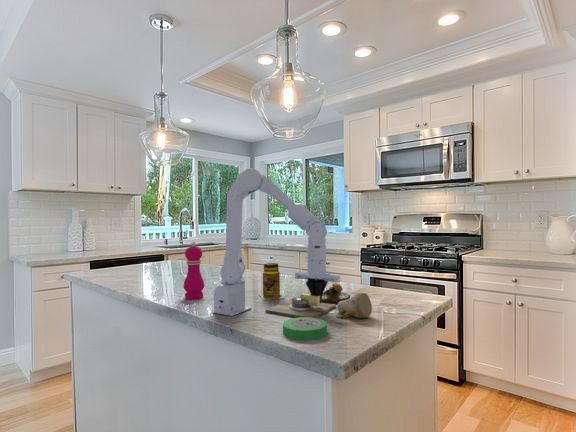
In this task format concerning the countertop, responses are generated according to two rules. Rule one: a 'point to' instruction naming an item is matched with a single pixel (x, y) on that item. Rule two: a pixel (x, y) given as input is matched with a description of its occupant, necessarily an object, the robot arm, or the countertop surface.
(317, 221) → the robot arm
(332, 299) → the plate of food
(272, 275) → the condiment
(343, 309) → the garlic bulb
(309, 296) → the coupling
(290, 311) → the post base
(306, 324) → the tape roll
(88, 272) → the countertop surface
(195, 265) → the pepper mill
